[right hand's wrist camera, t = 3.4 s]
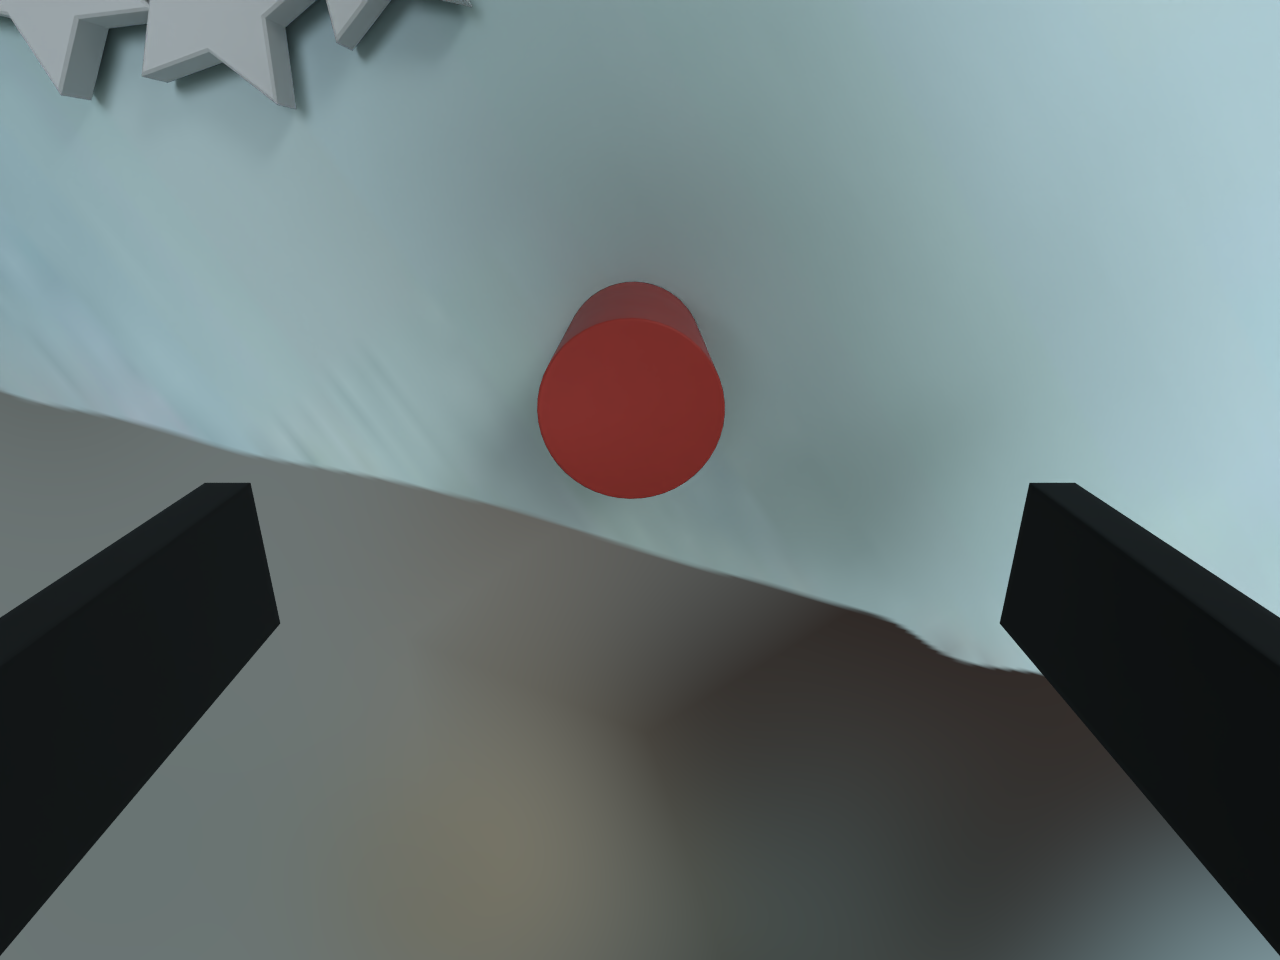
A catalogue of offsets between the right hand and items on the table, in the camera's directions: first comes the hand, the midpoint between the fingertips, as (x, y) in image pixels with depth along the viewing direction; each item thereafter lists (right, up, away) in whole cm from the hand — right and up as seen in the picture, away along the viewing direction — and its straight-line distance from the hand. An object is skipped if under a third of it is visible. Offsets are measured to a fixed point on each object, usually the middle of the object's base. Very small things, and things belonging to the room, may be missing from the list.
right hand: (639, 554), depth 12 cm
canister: (0, +6, +17) cm, 18 cm away
